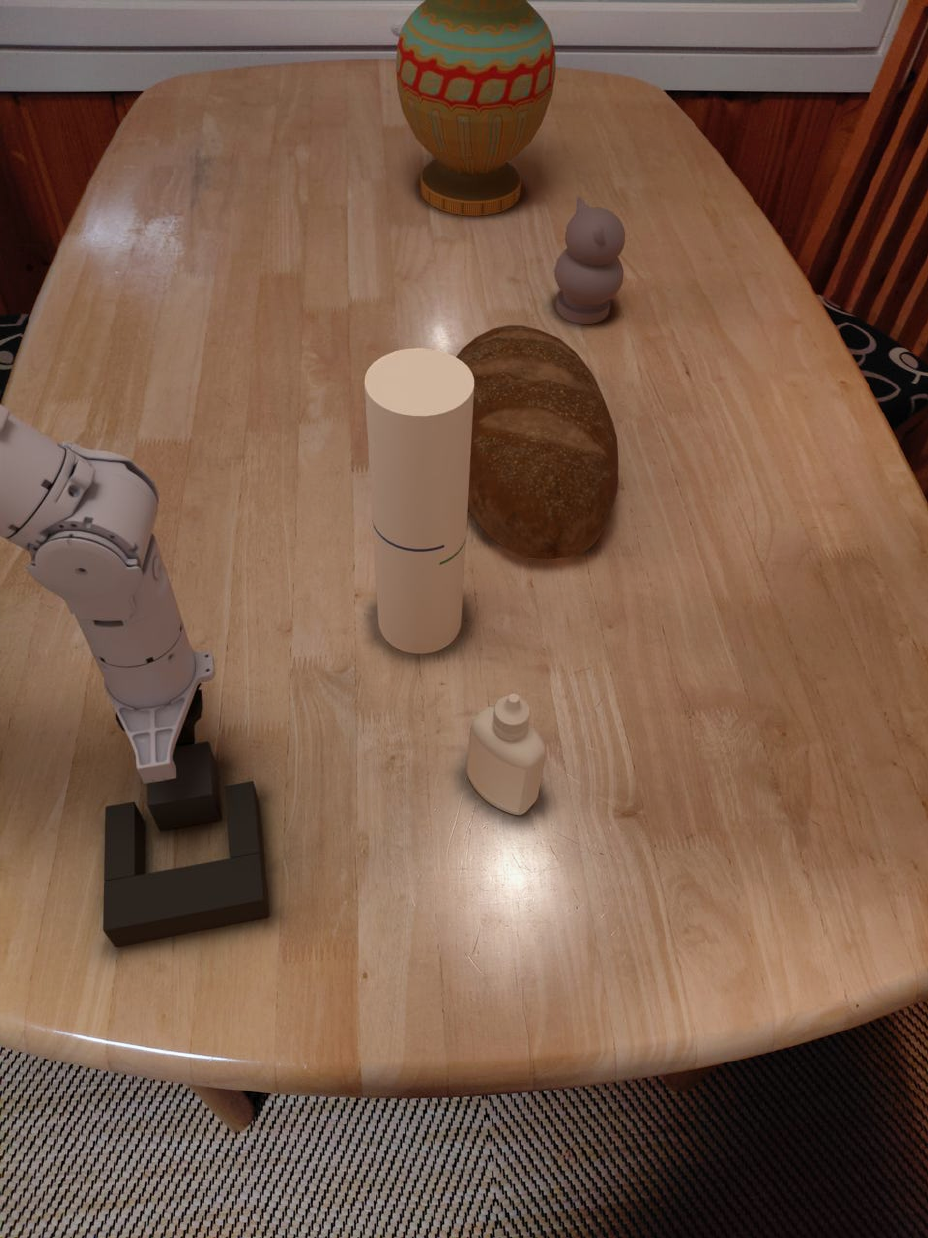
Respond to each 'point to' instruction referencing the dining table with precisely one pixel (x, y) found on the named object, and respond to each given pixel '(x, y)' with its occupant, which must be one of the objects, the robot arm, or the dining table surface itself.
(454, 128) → the vase
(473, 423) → the bread
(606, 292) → the grey rounded figurine
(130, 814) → the black u-shaped block
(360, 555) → the dining table surface
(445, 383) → the cylindrical container
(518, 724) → the eye dropper bottle
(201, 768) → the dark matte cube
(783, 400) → the dining table surface
